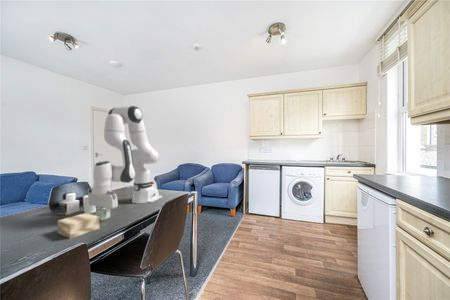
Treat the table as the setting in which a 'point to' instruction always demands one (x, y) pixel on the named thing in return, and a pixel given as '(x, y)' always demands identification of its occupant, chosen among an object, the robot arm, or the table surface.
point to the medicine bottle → (69, 204)
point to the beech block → (78, 225)
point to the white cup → (88, 206)
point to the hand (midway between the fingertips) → (103, 214)
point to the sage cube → (102, 213)
